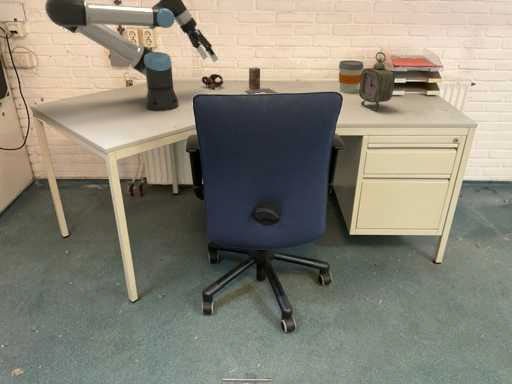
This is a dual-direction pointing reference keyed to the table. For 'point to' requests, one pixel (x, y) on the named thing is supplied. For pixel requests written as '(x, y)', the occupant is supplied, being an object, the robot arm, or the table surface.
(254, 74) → the walnut block
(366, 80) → the tabletop clock
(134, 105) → the table surface
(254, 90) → the rubber mat
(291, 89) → the table surface
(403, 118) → the table surface
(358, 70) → the reusable coffee cup
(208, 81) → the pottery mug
